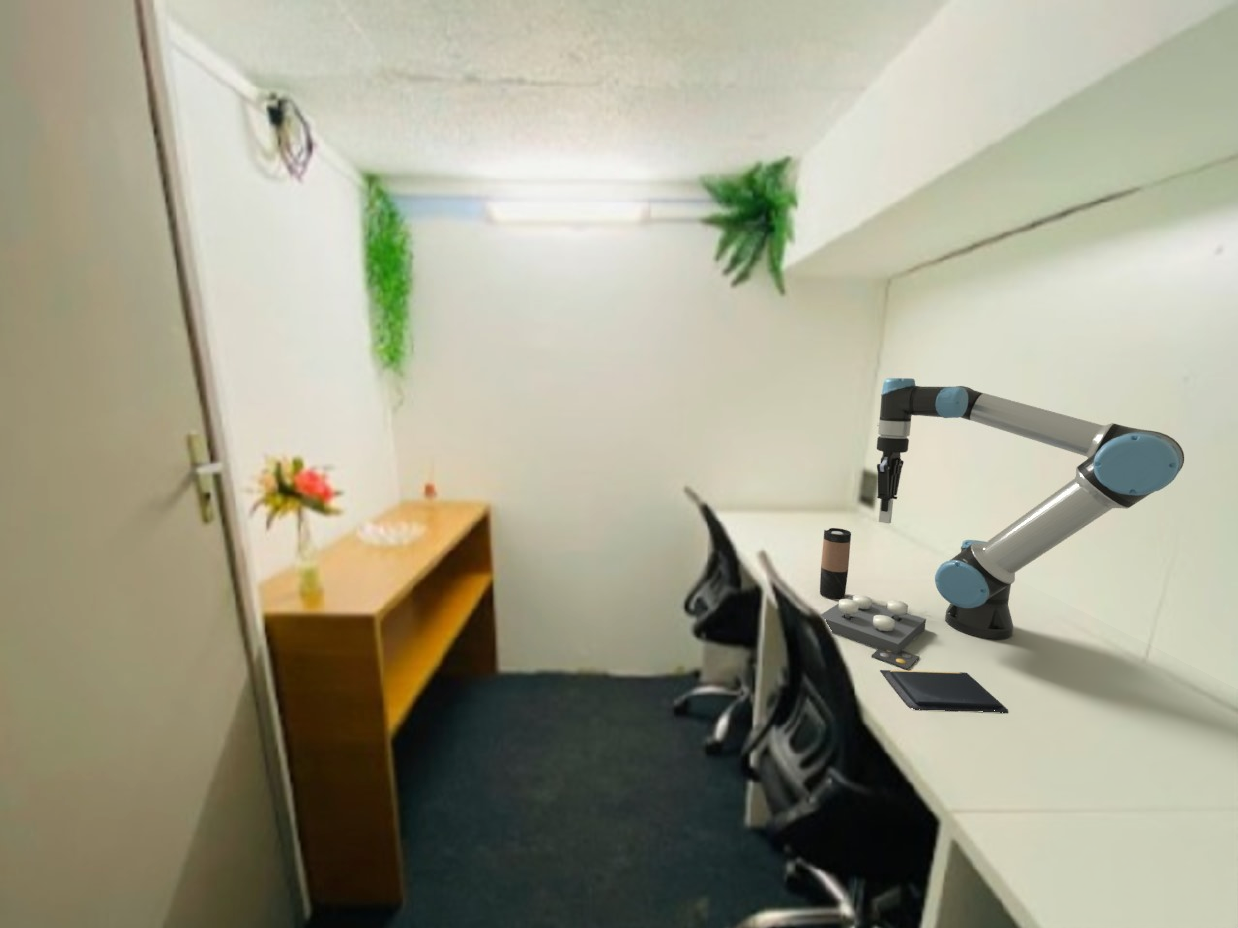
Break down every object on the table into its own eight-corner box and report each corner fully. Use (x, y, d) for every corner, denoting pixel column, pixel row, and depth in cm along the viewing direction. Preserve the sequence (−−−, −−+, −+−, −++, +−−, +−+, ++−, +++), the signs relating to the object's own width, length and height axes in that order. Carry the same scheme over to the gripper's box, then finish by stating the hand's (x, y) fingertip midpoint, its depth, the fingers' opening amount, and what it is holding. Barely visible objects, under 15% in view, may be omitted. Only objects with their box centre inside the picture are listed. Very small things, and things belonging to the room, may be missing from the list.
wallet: (909, 703, 108) (878, 663, 123) (908, 712, 108) (877, 671, 123) (1014, 709, 107) (969, 668, 122) (1013, 717, 107) (968, 675, 122)
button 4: (860, 620, 143) (861, 603, 142) (852, 625, 139) (854, 608, 138) (842, 614, 146) (843, 597, 145) (834, 619, 143) (835, 602, 142)
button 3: (873, 615, 149) (875, 598, 148) (866, 620, 146) (867, 603, 145) (855, 609, 152) (857, 593, 152) (848, 614, 149) (850, 598, 148)
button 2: (895, 637, 136) (897, 619, 136) (888, 643, 133) (890, 625, 132) (876, 630, 140) (877, 613, 139) (868, 636, 136) (870, 618, 136)
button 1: (908, 621, 142) (910, 604, 141) (902, 627, 139) (904, 609, 138) (889, 615, 146) (891, 598, 145) (882, 620, 142) (884, 603, 142)
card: (919, 657, 128) (919, 655, 128) (907, 670, 123) (907, 667, 123) (884, 645, 134) (884, 643, 134) (871, 656, 128) (871, 654, 128)
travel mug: (848, 601, 160) (854, 535, 157) (820, 598, 162) (826, 534, 158) (843, 591, 167) (848, 528, 164) (817, 588, 169) (822, 526, 166)
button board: (924, 629, 143) (926, 618, 142) (896, 655, 129) (898, 644, 128) (849, 605, 157) (850, 595, 156) (816, 626, 143) (817, 616, 143)
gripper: (887, 433, 151) (879, 515, 155) (869, 436, 142) (861, 523, 146) (916, 436, 146) (907, 520, 150) (899, 439, 137) (890, 529, 141)
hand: (884, 522), depth 148 cm, fingers closed
